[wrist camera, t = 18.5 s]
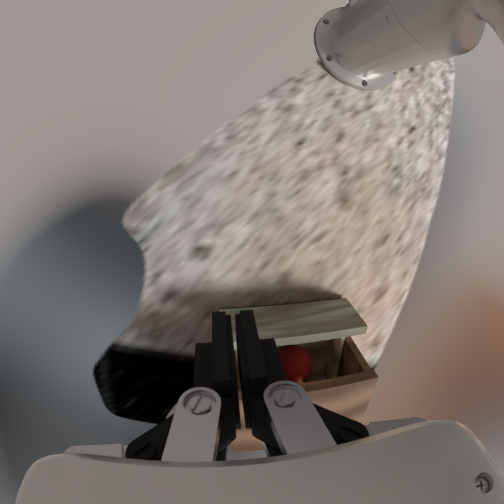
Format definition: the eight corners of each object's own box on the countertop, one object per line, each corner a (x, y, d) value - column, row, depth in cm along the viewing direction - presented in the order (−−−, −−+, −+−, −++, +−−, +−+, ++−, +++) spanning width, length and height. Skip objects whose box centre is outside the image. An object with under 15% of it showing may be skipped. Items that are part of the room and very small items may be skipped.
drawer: (219, 309, 40) (220, 343, 33) (346, 298, 41) (367, 326, 34) (226, 381, 45) (228, 416, 38) (333, 368, 47) (347, 399, 40)
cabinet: (221, 331, 42) (224, 401, 29) (341, 319, 43) (378, 377, 31) (227, 387, 46) (232, 452, 34) (330, 375, 48) (356, 431, 35)
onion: (280, 367, 44) (290, 404, 36) (260, 347, 42) (268, 385, 34) (311, 348, 43) (327, 384, 35) (293, 326, 41) (307, 363, 33)
